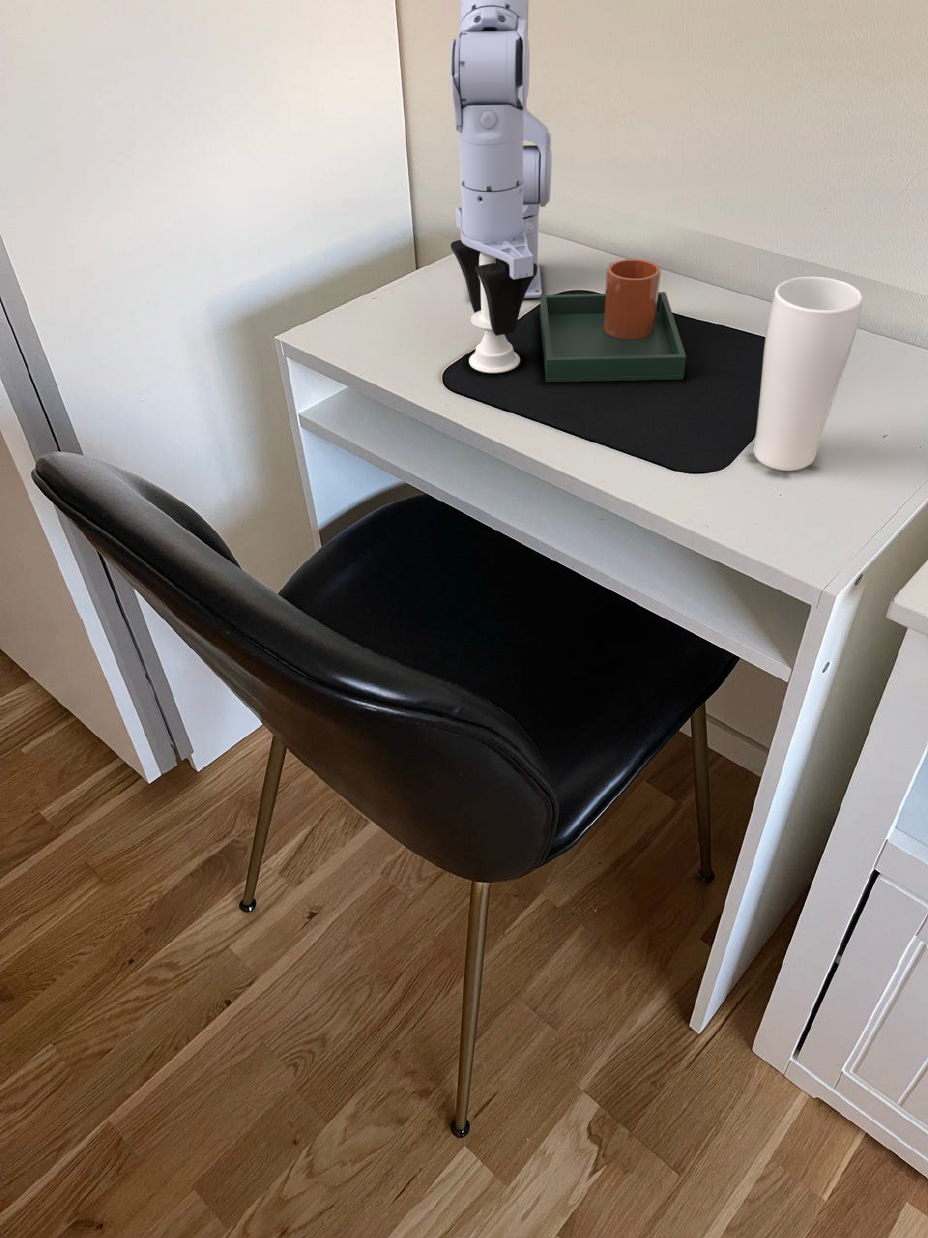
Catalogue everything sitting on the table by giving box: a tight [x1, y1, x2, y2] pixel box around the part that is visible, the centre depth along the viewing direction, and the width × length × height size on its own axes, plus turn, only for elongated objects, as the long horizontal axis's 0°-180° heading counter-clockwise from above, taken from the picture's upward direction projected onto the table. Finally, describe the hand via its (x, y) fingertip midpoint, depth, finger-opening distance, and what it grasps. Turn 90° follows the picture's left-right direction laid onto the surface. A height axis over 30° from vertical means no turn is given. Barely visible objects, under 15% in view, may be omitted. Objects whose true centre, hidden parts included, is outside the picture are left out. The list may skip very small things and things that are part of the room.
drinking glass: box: [752, 276, 864, 472], centre depth 80 cm, size 7×7×15 cm
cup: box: [604, 258, 662, 340], centre depth 101 cm, size 5×5×6 cm
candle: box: [468, 252, 521, 374], centre depth 96 cm, size 5×5×12 cm
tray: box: [539, 291, 687, 383], centre depth 101 cm, size 15×14×2 cm
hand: (494, 322), depth 97 cm, fingers closed on candle, 5 cm apart
